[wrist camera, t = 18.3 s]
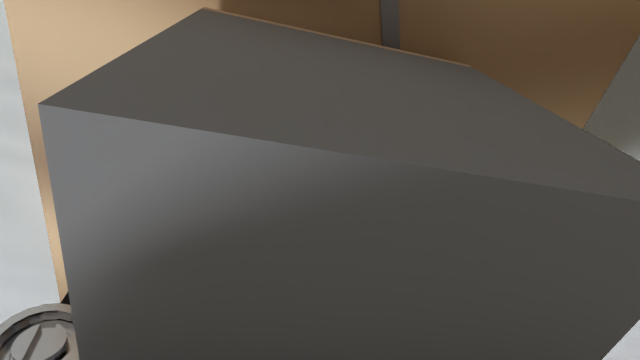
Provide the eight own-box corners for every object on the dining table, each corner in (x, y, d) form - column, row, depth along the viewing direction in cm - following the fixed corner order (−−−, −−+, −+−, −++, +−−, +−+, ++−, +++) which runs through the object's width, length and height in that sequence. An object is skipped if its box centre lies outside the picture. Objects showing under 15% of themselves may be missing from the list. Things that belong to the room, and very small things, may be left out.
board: (-59, -758, 5) (-199, -1049, 3) (785, -328, 7) (901, -394, 6) (101, 403, 17) (86, 440, 16) (385, 412, 20) (392, 445, 18)
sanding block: (204, 7, 8) (37, 104, 2) (468, 64, 9) (736, 215, 4) (185, 327, 12) (116, 586, 7) (356, 338, 14) (401, 571, 8)
